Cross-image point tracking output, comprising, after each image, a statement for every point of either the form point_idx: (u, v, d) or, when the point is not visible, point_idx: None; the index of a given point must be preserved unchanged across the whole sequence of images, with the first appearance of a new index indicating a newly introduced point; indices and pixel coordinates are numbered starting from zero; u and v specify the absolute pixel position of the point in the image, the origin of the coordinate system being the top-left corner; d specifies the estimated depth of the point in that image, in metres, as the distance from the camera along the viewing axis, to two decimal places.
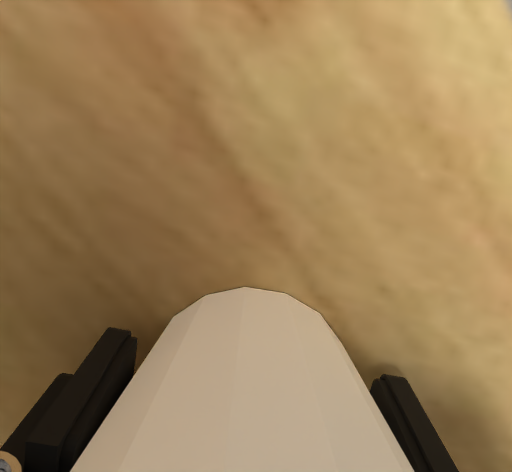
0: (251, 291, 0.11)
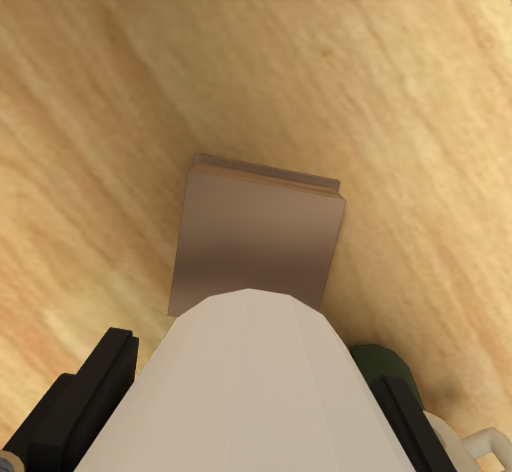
0: (256, 293, 0.11)
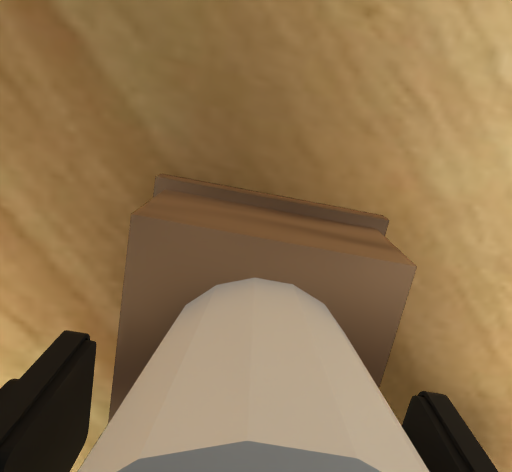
0: (261, 281, 0.11)
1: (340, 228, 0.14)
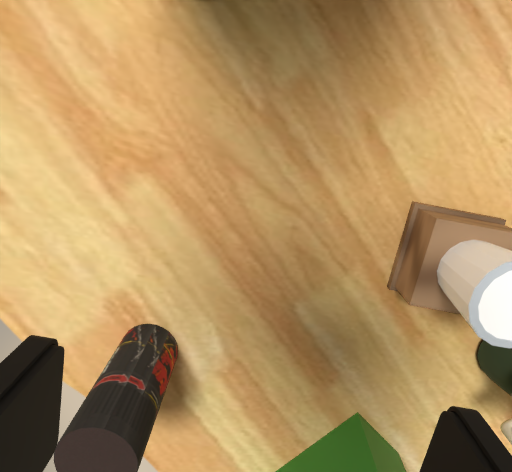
0: (477, 240, 0.35)
1: (490, 223, 0.38)
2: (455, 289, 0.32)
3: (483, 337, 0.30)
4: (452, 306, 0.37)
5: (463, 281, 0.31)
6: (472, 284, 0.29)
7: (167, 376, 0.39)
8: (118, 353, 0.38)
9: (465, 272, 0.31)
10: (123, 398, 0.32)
